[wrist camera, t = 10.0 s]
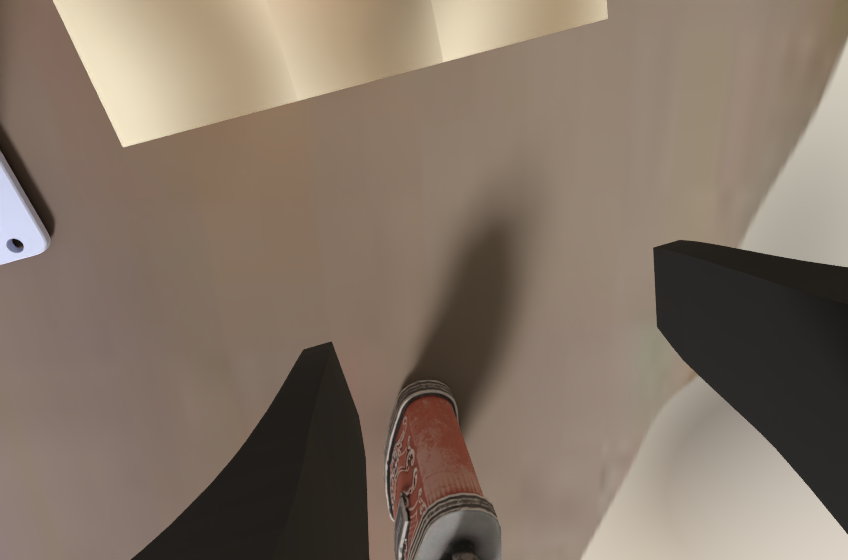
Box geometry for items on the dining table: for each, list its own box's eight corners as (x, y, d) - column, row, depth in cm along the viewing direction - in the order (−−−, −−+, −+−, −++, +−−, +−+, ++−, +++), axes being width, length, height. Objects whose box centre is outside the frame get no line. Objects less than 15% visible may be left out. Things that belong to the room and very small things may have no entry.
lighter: (390, 380, 24) (431, 584, 15) (464, 379, 25) (544, 574, 16) (378, 515, 28) (405, 749, 19) (443, 511, 28) (501, 735, 19)
